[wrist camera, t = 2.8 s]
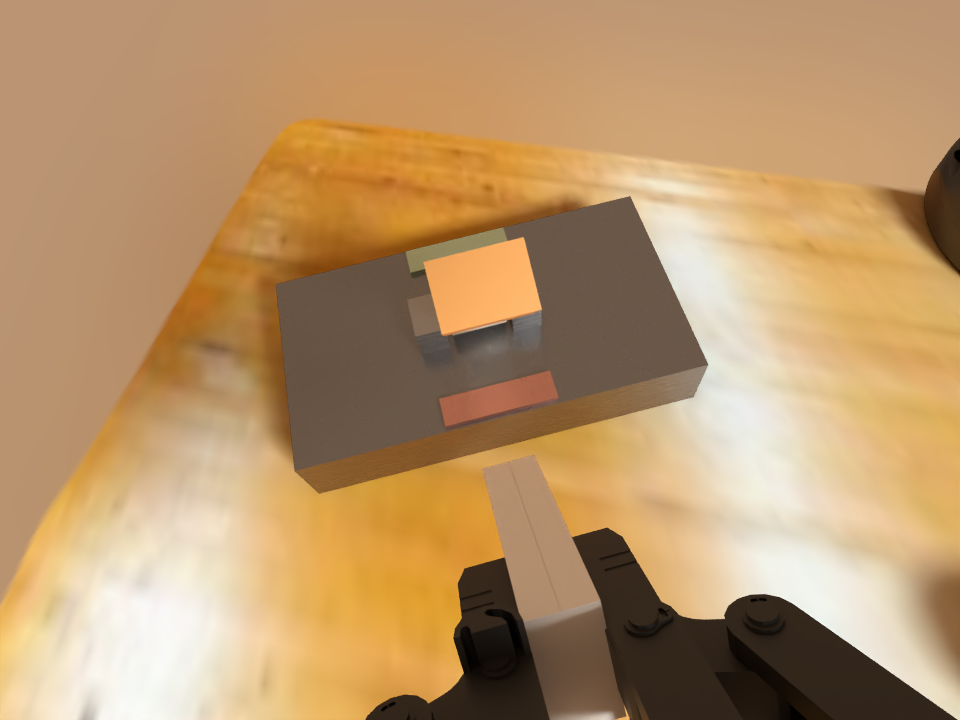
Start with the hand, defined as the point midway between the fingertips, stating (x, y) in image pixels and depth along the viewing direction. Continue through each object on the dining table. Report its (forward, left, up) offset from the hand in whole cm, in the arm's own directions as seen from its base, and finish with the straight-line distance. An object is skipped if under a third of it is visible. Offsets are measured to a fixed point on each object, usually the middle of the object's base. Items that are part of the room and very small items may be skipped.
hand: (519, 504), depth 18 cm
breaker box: (-1, -14, -17) cm, 22 cm away
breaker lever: (-1, -15, -12) cm, 19 cm away
